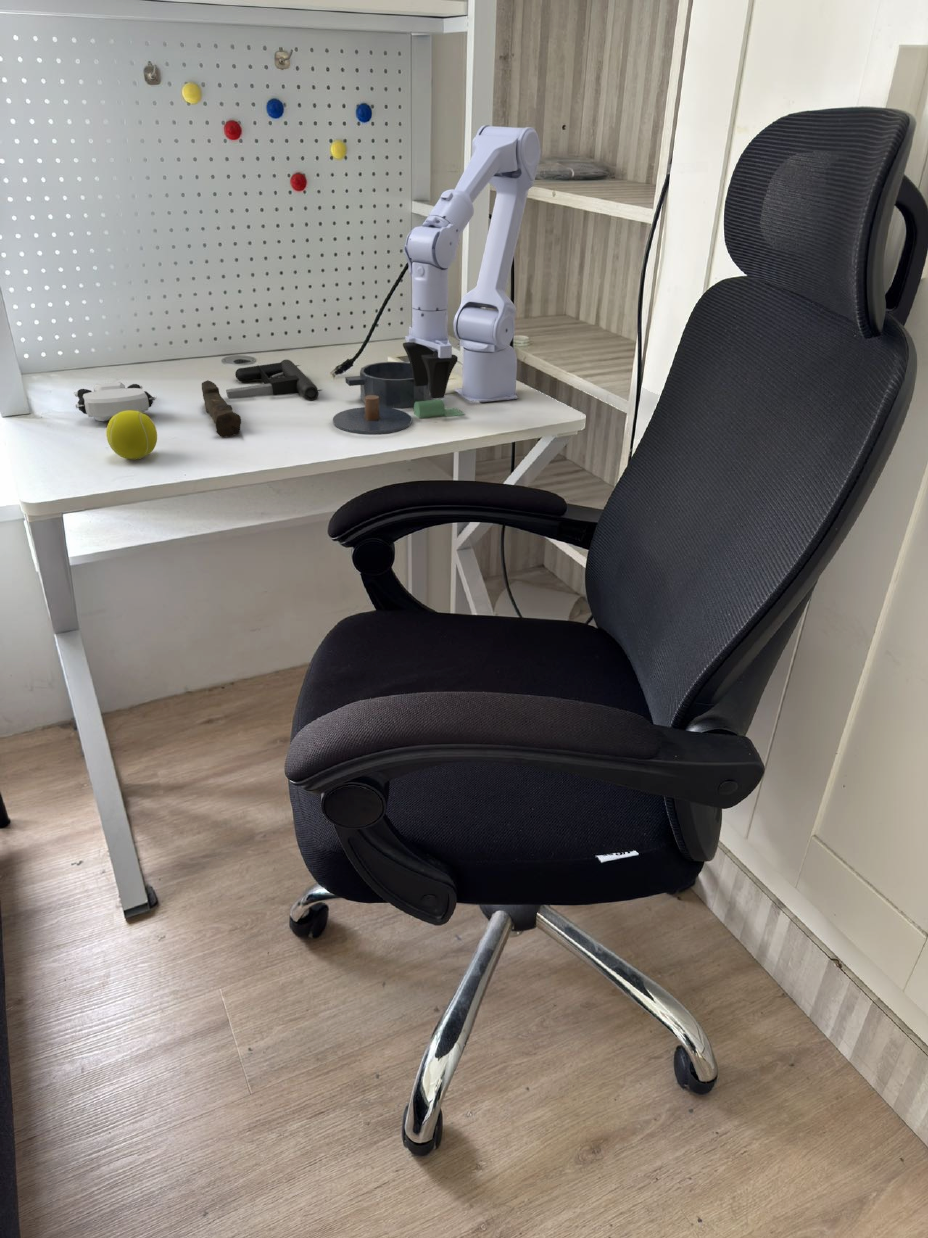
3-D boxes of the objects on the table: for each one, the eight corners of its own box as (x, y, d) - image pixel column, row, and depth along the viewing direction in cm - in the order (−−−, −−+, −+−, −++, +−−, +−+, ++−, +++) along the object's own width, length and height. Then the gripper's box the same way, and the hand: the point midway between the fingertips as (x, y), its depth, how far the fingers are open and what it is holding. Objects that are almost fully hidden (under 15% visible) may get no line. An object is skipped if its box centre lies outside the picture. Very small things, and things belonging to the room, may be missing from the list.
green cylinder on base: (420, 422, 154) (420, 405, 152) (412, 416, 157) (412, 398, 155) (464, 418, 156) (464, 400, 155) (455, 411, 159) (456, 394, 158)
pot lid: (324, 417, 155) (322, 389, 152) (396, 410, 159) (396, 383, 157) (345, 441, 144) (344, 412, 142) (422, 432, 149) (422, 404, 147)
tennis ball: (163, 448, 139) (156, 403, 136) (157, 465, 134) (150, 418, 130) (115, 450, 138) (107, 404, 135) (107, 466, 132) (98, 419, 129)
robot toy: (73, 409, 158) (81, 429, 145) (68, 383, 156) (76, 400, 143) (147, 402, 162) (161, 420, 150) (143, 376, 160) (156, 392, 148)
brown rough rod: (242, 436, 145) (240, 407, 143) (217, 438, 144) (214, 409, 142) (224, 403, 161) (221, 376, 158) (200, 405, 159) (197, 378, 157)
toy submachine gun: (233, 396, 155) (324, 383, 160) (213, 367, 171) (297, 356, 176) (236, 415, 157) (326, 401, 162) (216, 385, 173) (299, 373, 178)
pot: (338, 396, 166) (337, 365, 163) (429, 387, 172) (429, 358, 169) (358, 415, 156) (357, 383, 153) (453, 406, 162) (454, 375, 159)
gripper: (391, 300, 151) (392, 381, 158) (422, 318, 140) (422, 405, 146) (431, 298, 154) (430, 378, 160) (464, 315, 142) (462, 401, 149)
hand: (429, 391), depth 153 cm, fingers open, 7 cm apart
